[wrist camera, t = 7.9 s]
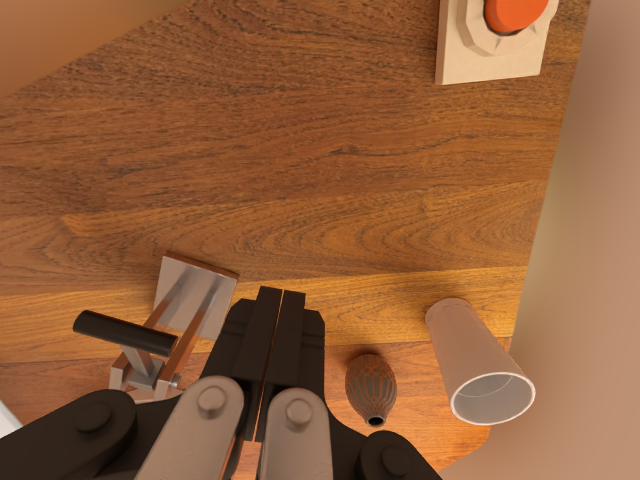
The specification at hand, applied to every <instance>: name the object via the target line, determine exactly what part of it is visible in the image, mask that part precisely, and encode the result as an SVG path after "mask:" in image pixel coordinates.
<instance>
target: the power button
mask: <svg viewBox="0 0 640 480" xmlns="http://www.w3.org/2000/svg"><path fill="white" fill-rule="evenodd" d="M548 2H549V0H486V5H485V16H486V20H487V22H488V24H489V25H490V27H491V28H492V29H494V30H495V31H497V32H502V33H506V32H511V31H515V30H518V29H522V28H525V27H527V26H529V25H530V24H532V23H533V22H535V21H536V20H537V19H538V18H539V17H540V15H541V14H542V13H543V11H544V10H545V8H546V6H547V4H548Z"/></svg>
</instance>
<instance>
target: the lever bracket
mask: <svg viewBox="0 0 640 480" xmlns="http://www.w3.org/2000/svg"><path fill="white" fill-rule="evenodd" d="M238 278H239V274H236V273H233V272H230V271H227V270H224V269H221V268H218V267H215V266H212V265H209V264H206V263H203V262H199V261H196V260H193V259H190V258H187V257H184V256H181V255H178V254H175V253H172V252H169V251H167V252H166V253H165V254H164V255H163V258H162V264H161V269H160V275H159V280H158V286H157V291H156V297H155V302H154V308H153V313H152V314H151V315H150V317H149V318H148V319H147V321H146V322H145V323H144V325H143V326H144V327H148V328H151V329H155V330H158V331H162V332H164V330H165V329H166V327H171V328H174V329H177V330H181V331H184V332H185V333H184V334H183V336H182V338H181V340H180V341H179V343H178V345H177V347H176V348H175V350H174V352H173V354H172V355H171V357H170V359H169V361H168V362H167V364H166V366H165V368H164V369H163V371H162V373H161V375H160V376H159V378H158V381H157V385H156V390H155V394H154V399H153V401H160V400H165V399H168V398H169V396H170V394H171V392H172V390H173V389H175V390H176V389H177V387H178V385H179V383H180V380H181V377H182V374H181V372H182V370H183V368H184V366H185V364H186V362H187V360H188V358H189V356H190V354H191V352H192V350H193V348H194V346H195V344H196V342H197V340H198V338H199V336H201V337H205V338H208V339H212V340H215V341H216V340H217V337H218V335H219V333H220V332H221V328H222V326H223V324H224V321H225V318H226V315H227V312H228V309H229V305H230V302H231V299H232V296H233V293H234V290H235V287H236V284H237V281H238ZM132 370H133V366H132V364H131V363H130V361H129V360H128V358H127V356H126V355H125V353H124V352H122V354H121V355H120V356H119V357H118V359H117V360H116V361H115V363H114V364H113V365H112V367H111V373H110V382H109V389H117V390H121V391H125V390H126V388H127V386H128V385H129V383H128V381H127V380H128V378H129V376H130V374H131V372H132Z"/></svg>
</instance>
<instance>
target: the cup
mask: <svg viewBox="0 0 640 480" xmlns="http://www.w3.org/2000/svg"><path fill="white" fill-rule="evenodd" d="M425 323H426V326H427V328H428V330H429V334H430V337H431V340H432V344H433V347H434V351H435V354H436V357H437V361H438V364H439V368H440V371H441V374H442V378H443V381H444V385H445V389H446V392H447V396H448V399H449V403H450V407H451V410H452V412H453V413H454V414H455V416H456V417H458V418H459V419H461V420H462V421H465V422H467V423H471V424H476V425H492V424H498V423H502V422H506V421H509V420H511V419H513V418H515V417H517V416H519V415H520V414H522V413H523V412H525V411H526V410H527V409H528V408H529V407H530V405H531V404H532V402H533V401H534V398H535V388H534V385H533V384H532V382H531V381H530V380H529V379H528V377H527V376H526V375H525V374H524V372H523V371H522V370H521V369H520V367H519V366H518V365H517V364H516V362H515V361H514V360H513V359H512V358H511V356H509V355H508V353H507V352H506V351H505V350H504V348H503V347H502V346H501V344H500V343H499V342H498V341H497V339H496V338H495V337H494V336H493V334H492V333H491V332H490V330H489V329H488V328H487V327H486V325H485V324H484V323H483V321H482V320H481V319H480V318H479V316H478V315H477V313H476V312H475V310H474V309H473V307H472V306H471V304H470V303H469V302H467V301H465V300H463V299H460V298H447V299H443V300H441V301H438V302H437V303H435V304H434V305H432V306H431V307H430V308H429V310H428V311H427V313H426V316H425Z"/></svg>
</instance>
